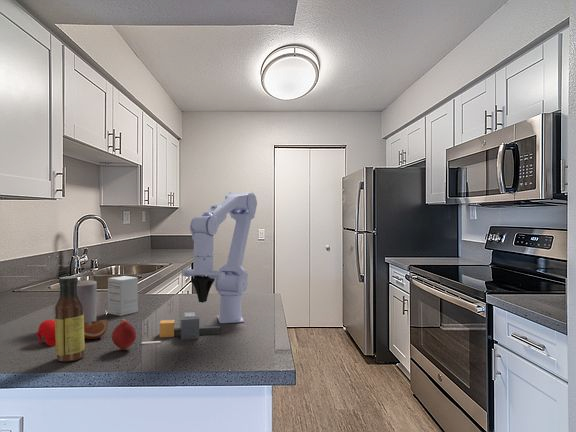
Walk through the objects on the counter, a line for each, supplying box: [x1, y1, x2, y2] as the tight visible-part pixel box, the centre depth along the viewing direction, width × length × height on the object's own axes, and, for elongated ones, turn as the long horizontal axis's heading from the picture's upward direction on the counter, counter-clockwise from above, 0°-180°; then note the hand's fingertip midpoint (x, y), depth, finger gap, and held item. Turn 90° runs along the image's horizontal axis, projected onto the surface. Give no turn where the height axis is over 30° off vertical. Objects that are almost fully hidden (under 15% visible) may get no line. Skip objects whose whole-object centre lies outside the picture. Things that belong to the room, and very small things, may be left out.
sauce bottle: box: [54, 275, 86, 363], centre depth 103 cm, size 6×6×20 cm
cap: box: [35, 319, 56, 347], centre depth 115 cm, size 8×6×6 cm
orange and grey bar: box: [159, 319, 222, 338], centre depth 125 cm, size 18×4×4 cm, turn 103°
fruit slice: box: [84, 319, 109, 340], centre depth 120 cm, size 8×7×5 cm
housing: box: [179, 310, 200, 341], centre depth 125 cm, size 11×5×6 cm, turn 15°
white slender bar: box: [140, 340, 162, 345], centre depth 116 cm, size 1×5×1 cm, turn 105°
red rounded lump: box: [111, 318, 137, 351], centre depth 110 cm, size 6×6×8 cm
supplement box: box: [107, 275, 139, 317], centre depth 151 cm, size 7×7×13 cm
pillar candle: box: [77, 278, 98, 323], centre depth 133 cm, size 10×10×15 cm
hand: (202, 301), depth 126 cm, fingers closed
